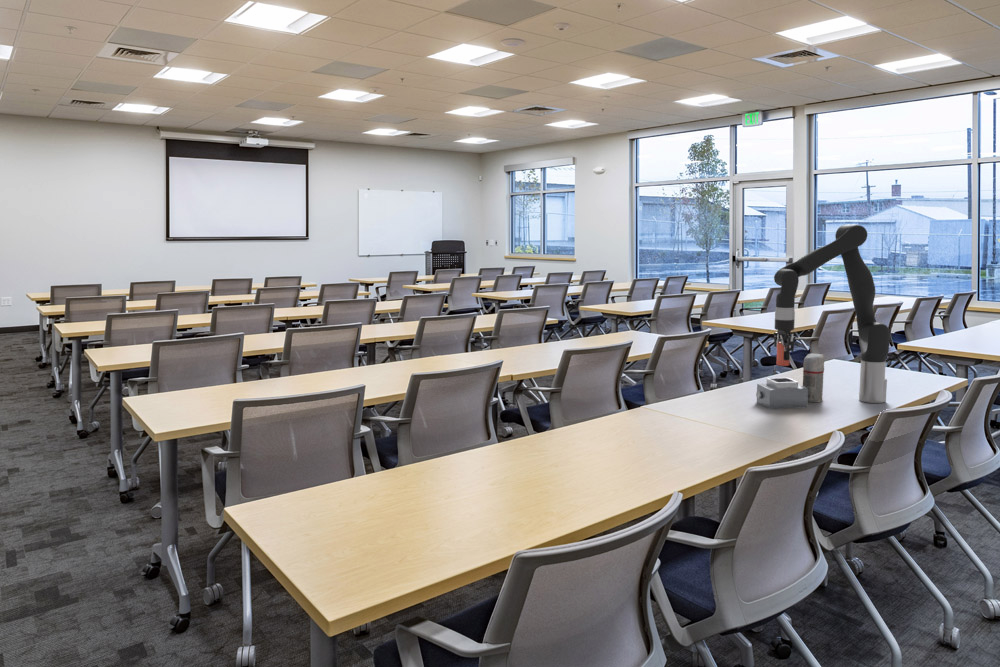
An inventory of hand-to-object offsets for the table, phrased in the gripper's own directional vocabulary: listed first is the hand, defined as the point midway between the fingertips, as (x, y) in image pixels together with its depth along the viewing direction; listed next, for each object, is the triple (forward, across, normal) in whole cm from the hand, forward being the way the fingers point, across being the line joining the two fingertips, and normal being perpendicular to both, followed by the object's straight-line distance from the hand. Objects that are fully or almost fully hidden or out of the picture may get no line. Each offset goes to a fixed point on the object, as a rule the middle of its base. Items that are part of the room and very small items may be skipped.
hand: (783, 358), depth 293 cm
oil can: (+2, 0, 0) cm, 2 cm away
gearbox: (+19, 0, 0) cm, 19 cm away
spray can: (+20, +5, -16) cm, 26 cm away
